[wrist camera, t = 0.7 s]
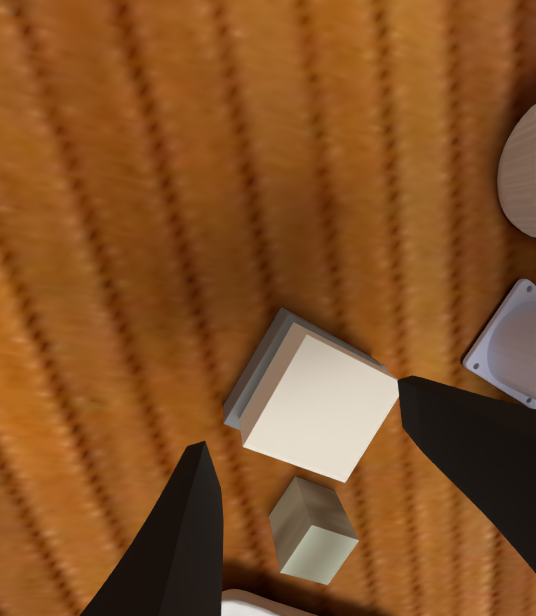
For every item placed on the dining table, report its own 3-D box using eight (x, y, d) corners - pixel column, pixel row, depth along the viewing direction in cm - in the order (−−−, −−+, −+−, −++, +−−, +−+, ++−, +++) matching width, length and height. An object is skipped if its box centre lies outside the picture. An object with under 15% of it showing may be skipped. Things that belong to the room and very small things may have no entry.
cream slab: (381, 366, 18) (405, 384, 16) (328, 453, 19) (345, 482, 17) (293, 322, 16) (306, 334, 14) (239, 418, 17) (242, 446, 15)
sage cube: (334, 490, 23) (358, 540, 19) (309, 528, 23) (327, 584, 19) (294, 475, 21) (311, 524, 18) (268, 515, 22) (280, 572, 18)
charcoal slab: (367, 354, 21) (387, 368, 18) (313, 440, 22) (325, 464, 19) (279, 305, 19) (288, 313, 16) (222, 401, 19) (223, 423, 17)
